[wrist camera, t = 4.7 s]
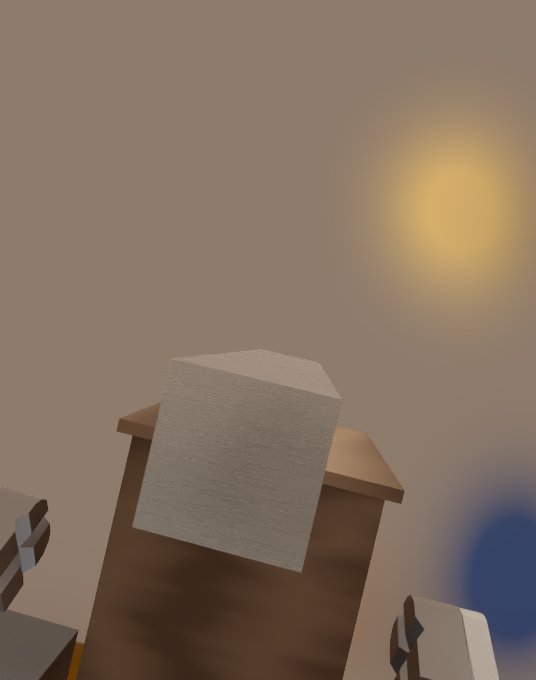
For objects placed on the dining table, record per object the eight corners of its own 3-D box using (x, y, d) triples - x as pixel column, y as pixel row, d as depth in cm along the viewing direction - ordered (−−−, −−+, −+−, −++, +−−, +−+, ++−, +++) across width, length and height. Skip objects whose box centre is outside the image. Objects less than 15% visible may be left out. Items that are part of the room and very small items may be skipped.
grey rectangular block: (305, 420, 30) (319, 362, 30) (301, 573, 10) (342, 399, 10) (248, 406, 30) (261, 349, 30) (132, 527, 10) (171, 358, 10)
